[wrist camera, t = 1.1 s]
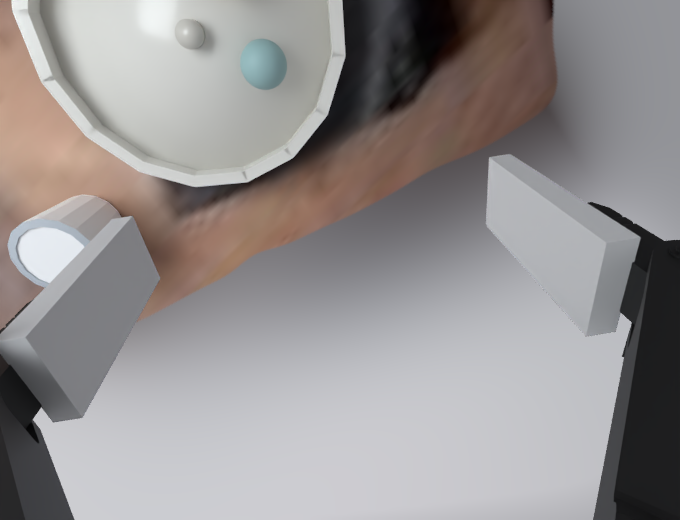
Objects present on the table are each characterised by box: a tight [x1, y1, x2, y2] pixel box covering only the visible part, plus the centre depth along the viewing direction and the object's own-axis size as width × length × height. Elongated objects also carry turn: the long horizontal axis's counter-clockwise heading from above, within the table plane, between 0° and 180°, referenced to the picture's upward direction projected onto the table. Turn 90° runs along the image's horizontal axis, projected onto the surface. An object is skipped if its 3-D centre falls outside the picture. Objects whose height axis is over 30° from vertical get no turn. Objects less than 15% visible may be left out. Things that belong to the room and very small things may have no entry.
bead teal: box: [240, 39, 287, 90], centre depth 31 cm, size 4×4×4 cm
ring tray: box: [12, 0, 346, 187], centre depth 31 cm, size 23×23×2 cm
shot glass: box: [8, 194, 122, 288], centre depth 36 cm, size 7×7×7 cm
